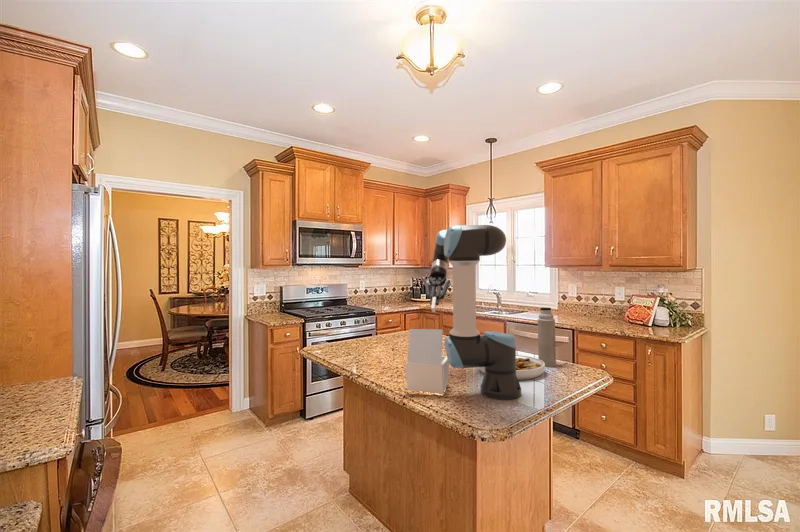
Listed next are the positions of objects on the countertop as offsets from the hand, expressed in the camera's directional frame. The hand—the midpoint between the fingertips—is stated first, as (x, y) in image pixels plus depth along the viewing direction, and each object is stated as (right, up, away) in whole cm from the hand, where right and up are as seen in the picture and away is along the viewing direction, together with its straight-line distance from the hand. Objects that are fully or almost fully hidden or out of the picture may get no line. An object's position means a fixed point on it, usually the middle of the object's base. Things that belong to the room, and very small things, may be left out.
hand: (433, 310), depth 167 cm
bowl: (+36, -30, +9) cm, 48 cm away
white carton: (-3, -30, -14) cm, 33 cm away
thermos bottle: (+57, -29, +19) cm, 67 cm away
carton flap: (-5, -12, -18) cm, 22 cm away
